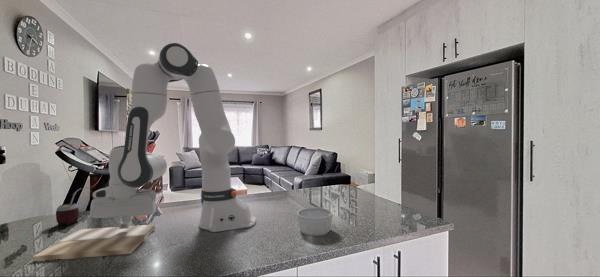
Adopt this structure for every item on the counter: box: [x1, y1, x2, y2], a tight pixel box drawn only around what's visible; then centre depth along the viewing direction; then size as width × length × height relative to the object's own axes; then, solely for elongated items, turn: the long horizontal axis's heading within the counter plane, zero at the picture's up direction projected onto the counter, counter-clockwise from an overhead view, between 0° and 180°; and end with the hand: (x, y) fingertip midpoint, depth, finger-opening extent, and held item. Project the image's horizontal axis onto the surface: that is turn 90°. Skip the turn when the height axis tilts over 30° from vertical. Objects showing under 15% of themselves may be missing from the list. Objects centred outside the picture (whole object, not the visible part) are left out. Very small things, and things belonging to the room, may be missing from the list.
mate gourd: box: [55, 187, 82, 227], centre depth 108 cm, size 8×8×15 cm
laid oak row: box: [32, 236, 145, 263], centre depth 84 cm, size 26×10×2 cm, turn 100°
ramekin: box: [296, 207, 333, 237], centre depth 99 cm, size 13×13×7 cm
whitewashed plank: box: [58, 223, 156, 242], centre depth 94 cm, size 26×10×2 cm, turn 100°
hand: (124, 228), depth 95 cm, fingers closed
